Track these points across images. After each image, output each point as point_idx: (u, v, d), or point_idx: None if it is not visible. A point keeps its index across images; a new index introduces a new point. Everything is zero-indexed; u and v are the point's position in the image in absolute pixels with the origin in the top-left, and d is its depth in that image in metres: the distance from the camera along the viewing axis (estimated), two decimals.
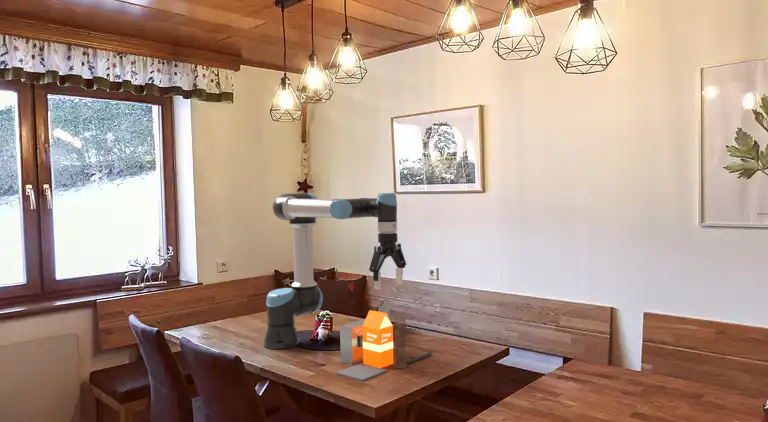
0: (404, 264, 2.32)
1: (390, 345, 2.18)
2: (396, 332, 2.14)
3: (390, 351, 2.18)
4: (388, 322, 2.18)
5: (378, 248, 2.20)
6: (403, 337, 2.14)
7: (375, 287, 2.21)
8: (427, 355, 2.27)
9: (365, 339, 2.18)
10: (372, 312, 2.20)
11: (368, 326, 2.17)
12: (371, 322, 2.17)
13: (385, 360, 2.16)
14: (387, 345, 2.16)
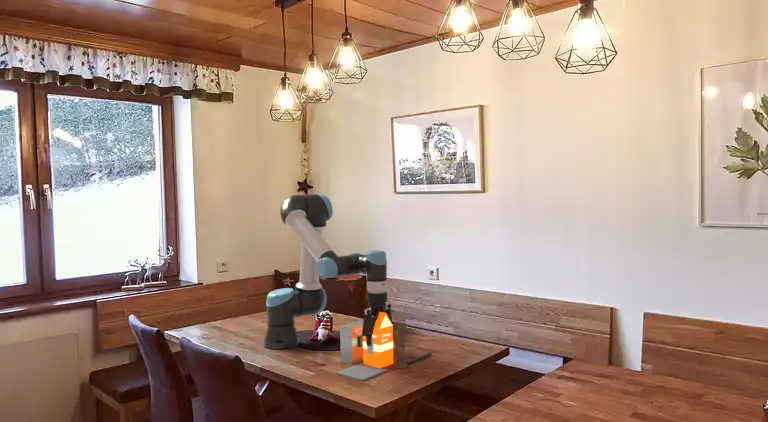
0: None
1: (390, 345, 2.18)
2: (396, 332, 2.14)
3: (390, 351, 2.18)
4: (388, 322, 2.18)
5: (367, 312, 2.13)
6: (403, 337, 2.14)
7: (368, 352, 2.16)
8: (427, 355, 2.27)
9: (365, 339, 2.18)
10: None
11: None
12: None
13: (385, 360, 2.15)
14: (387, 345, 2.16)
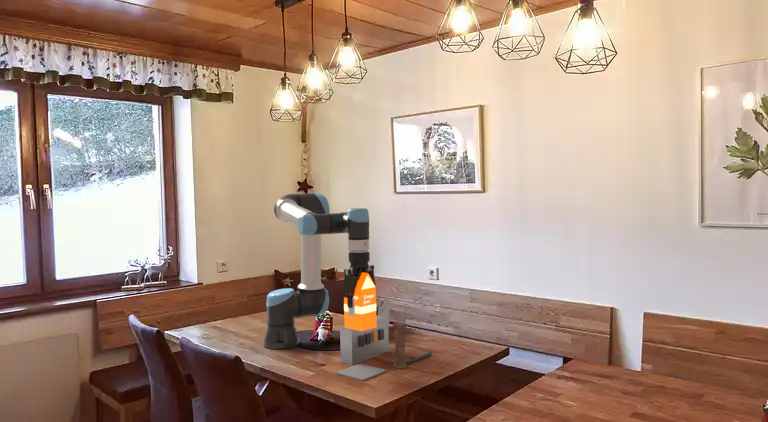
0: None
1: (373, 307, 2.06)
2: (396, 332, 2.14)
3: (373, 314, 2.06)
4: (371, 283, 2.06)
5: (348, 272, 2.01)
6: (403, 337, 2.14)
7: (349, 314, 2.05)
8: (427, 355, 2.27)
9: None
10: None
11: None
12: None
13: (367, 322, 2.04)
14: (369, 307, 2.05)
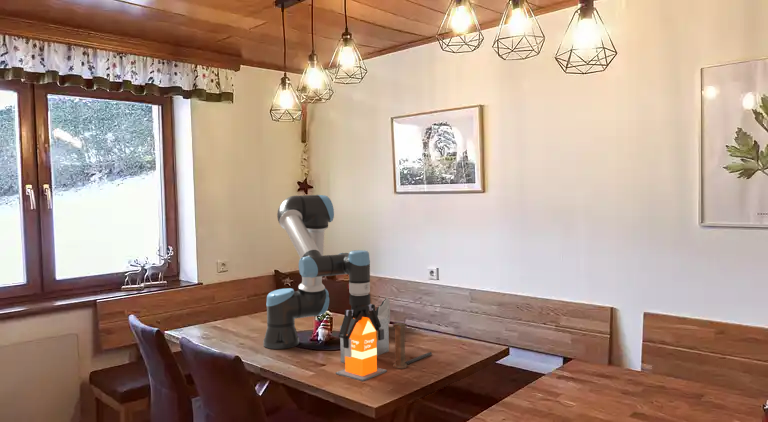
0: (378, 326, 2.14)
1: (373, 352, 2.07)
2: (396, 332, 2.14)
3: (374, 358, 2.07)
4: (372, 327, 2.07)
5: (348, 312, 2.02)
6: (403, 337, 2.14)
7: (345, 354, 2.03)
8: (427, 355, 2.27)
9: None
10: None
11: None
12: None
13: (368, 367, 2.05)
14: (370, 352, 2.06)
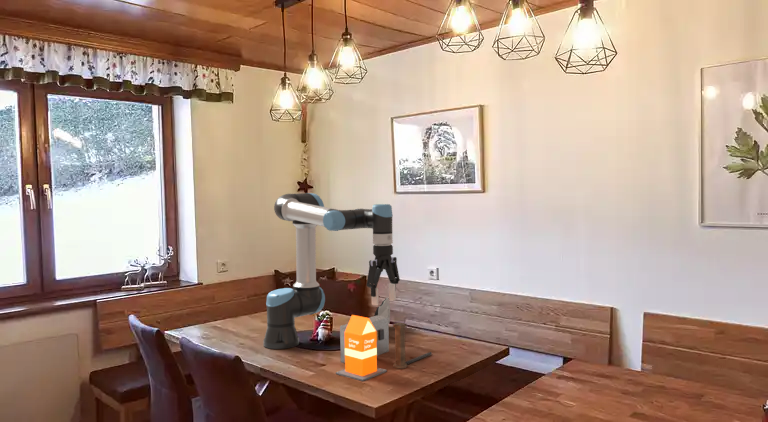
0: (397, 279, 2.26)
1: (373, 352, 2.07)
2: (396, 332, 2.14)
3: (374, 358, 2.07)
4: (372, 327, 2.07)
5: (373, 263, 2.15)
6: (403, 337, 2.14)
7: (373, 303, 2.17)
8: (427, 355, 2.27)
9: (347, 345, 2.07)
10: (355, 317, 2.09)
11: (350, 332, 2.06)
12: (353, 328, 2.07)
13: (368, 367, 2.05)
14: (370, 352, 2.06)
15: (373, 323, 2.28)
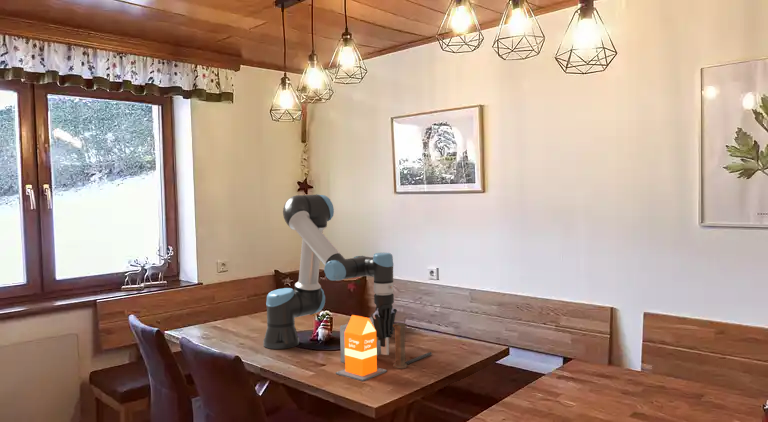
0: (391, 332, 2.23)
1: (373, 352, 2.07)
2: (396, 332, 2.14)
3: (374, 358, 2.07)
4: (372, 327, 2.07)
5: (375, 317, 2.16)
6: (403, 337, 2.14)
7: (382, 352, 2.22)
8: (427, 355, 2.27)
9: (347, 345, 2.07)
10: (355, 317, 2.09)
11: (350, 332, 2.06)
12: (353, 328, 2.07)
13: (368, 367, 2.05)
14: (370, 352, 2.06)
15: (373, 323, 2.28)
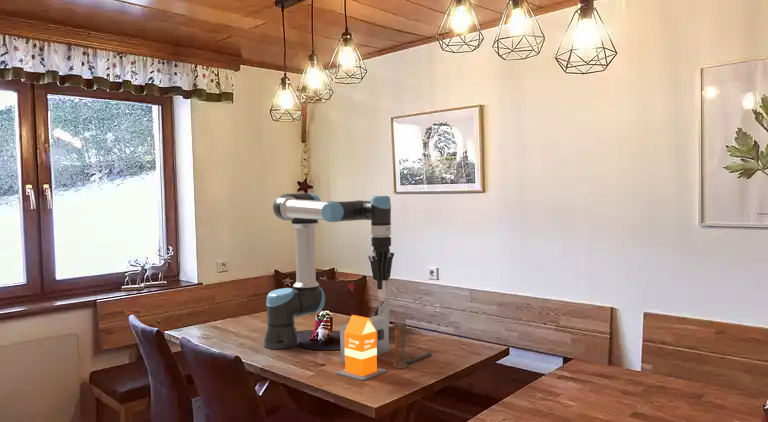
0: (388, 275, 2.23)
1: (373, 352, 2.07)
2: (396, 332, 2.14)
3: (374, 358, 2.07)
4: (372, 327, 2.07)
5: (372, 258, 2.16)
6: (403, 337, 2.14)
7: (379, 295, 2.22)
8: (427, 355, 2.27)
9: (347, 345, 2.07)
10: (355, 317, 2.09)
11: (350, 332, 2.06)
12: (353, 328, 2.07)
13: (368, 367, 2.05)
14: (370, 352, 2.06)
15: (373, 323, 2.28)
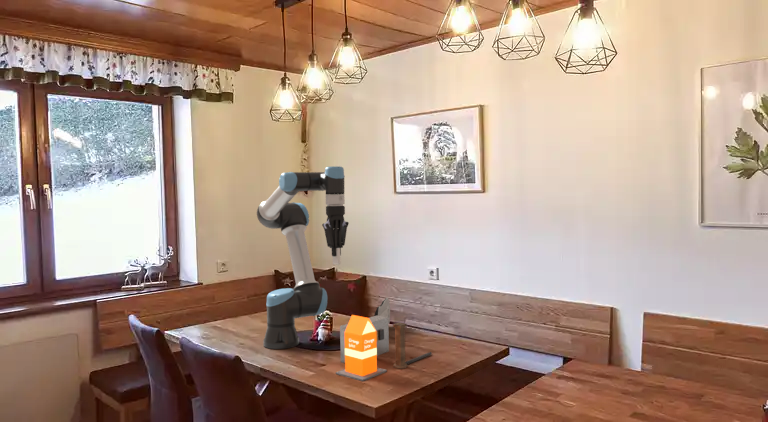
0: (342, 243, 2.32)
1: (373, 352, 2.07)
2: (396, 332, 2.14)
3: (374, 358, 2.07)
4: (372, 327, 2.07)
5: (326, 226, 2.25)
6: (403, 337, 2.14)
7: (333, 262, 2.31)
8: (427, 355, 2.27)
9: (347, 345, 2.07)
10: (355, 317, 2.09)
11: (350, 332, 2.06)
12: (353, 328, 2.07)
13: (368, 367, 2.05)
14: (370, 352, 2.06)
15: (373, 323, 2.28)
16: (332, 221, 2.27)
